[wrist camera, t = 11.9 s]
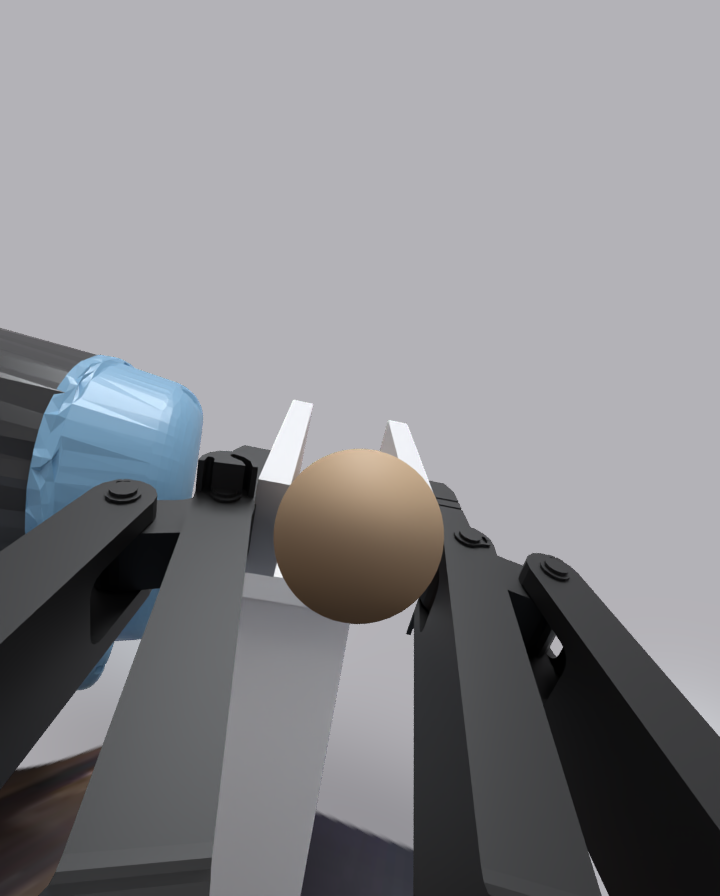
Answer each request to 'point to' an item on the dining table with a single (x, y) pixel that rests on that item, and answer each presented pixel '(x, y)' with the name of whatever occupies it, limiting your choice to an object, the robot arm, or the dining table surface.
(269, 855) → the plinth
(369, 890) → the dining table surface
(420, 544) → the ball
